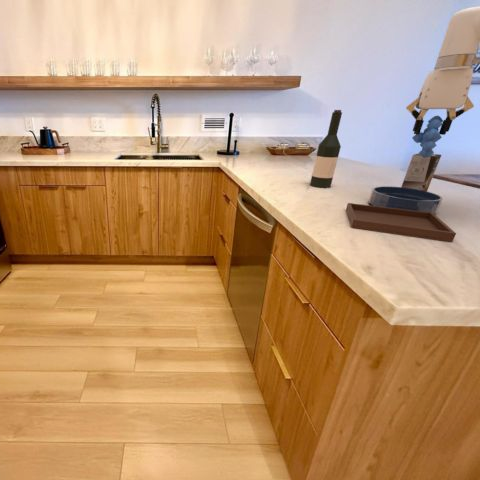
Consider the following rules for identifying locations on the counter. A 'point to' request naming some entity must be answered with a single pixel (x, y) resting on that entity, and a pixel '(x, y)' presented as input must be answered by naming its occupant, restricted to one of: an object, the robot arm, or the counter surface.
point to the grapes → (429, 136)
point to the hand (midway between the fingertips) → (429, 133)
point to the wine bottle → (327, 155)
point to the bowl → (405, 199)
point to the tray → (399, 222)
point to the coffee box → (421, 172)
